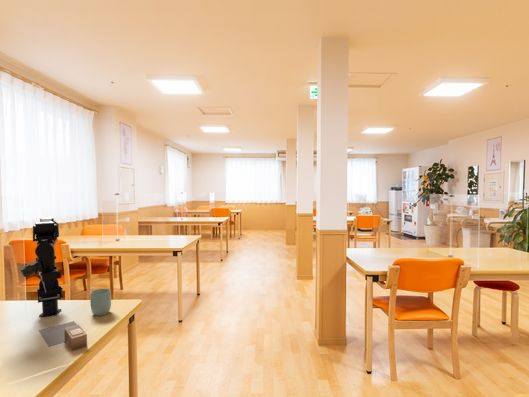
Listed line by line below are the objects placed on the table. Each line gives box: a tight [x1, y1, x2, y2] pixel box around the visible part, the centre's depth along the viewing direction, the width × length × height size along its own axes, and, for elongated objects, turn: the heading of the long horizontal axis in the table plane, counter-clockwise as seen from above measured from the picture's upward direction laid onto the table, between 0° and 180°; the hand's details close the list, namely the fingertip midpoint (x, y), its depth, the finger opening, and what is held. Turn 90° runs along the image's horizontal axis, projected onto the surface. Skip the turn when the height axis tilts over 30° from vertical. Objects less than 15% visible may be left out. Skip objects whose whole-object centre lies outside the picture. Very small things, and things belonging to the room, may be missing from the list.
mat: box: [38, 320, 78, 348], centre depth 123 cm, size 18×12×1 cm, turn 44°
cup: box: [89, 288, 112, 317], centre depth 142 cm, size 8×8×10 cm
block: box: [64, 324, 88, 352], centre depth 115 cm, size 5×4×10 cm
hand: (47, 293), depth 130 cm, fingers closed
